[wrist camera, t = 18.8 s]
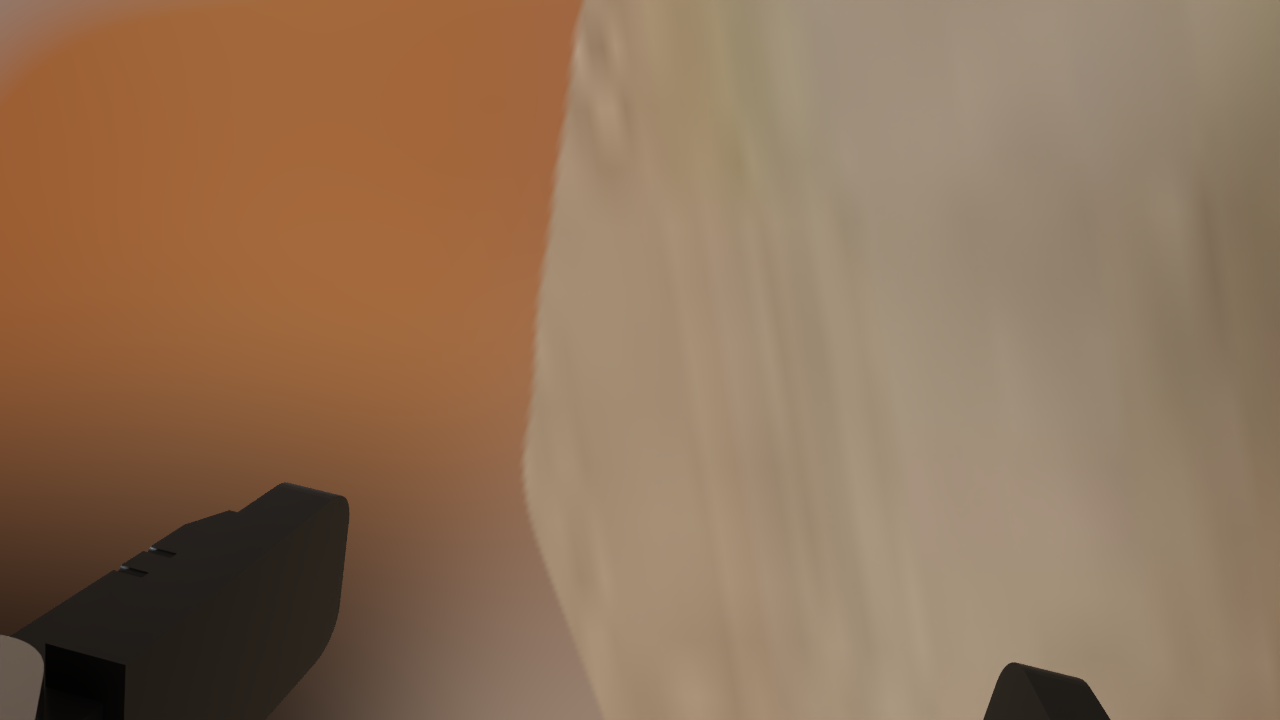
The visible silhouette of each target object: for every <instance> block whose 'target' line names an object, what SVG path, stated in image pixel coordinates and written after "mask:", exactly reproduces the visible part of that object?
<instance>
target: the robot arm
mask: <svg viewBox="0 0 1280 720" xmlns="http://www.w3.org/2000/svg"><path fill="white" fill-rule="evenodd" d="M348 524H349V505H348V502H347V499H346V498H345V497H343V496H341V495H337V494H332V493H328V492H324V491H320V490H316V489H312V488H308V487H304V486H300V485H296V484H292V483H286V482H285V483H281V484H279V485H277V486H276V487H274V488H273V489H271V490H270V491H268V492H267V493H265V494H264V495H263V496H261V497H260V498H258V499H257V500H256V501H254V502H252V503H251V504H249V505H248V506H247V507H245V508H243V509H242V510H240V511H239V512H234V511H230V510H229V511H226V512H223V513H219V514H216V515H213V516H210V517H207V518H204V519H201V520H198V521H195V522H191V523H188V524H185V525H183V526H182V527H180V528H179V529H177V530H176V531H174V532H172V533H171V534H169V535H168V536H166V537H165V538H163V539H161V540H160V541H158V542H157V543H155V544H154V545H152V546H150V550H149V551H148V552H145V551H143V552H141V553H140V554H138V555H136V556H135V557H133V558H132V559H130V560H129V561H127V562H126V563H124V564H122V565H121V567H120V570H119V571H115V570H113V571H111V572H110V573H108V574H107V575H105V576H104V577H102V578H100V579H99V580H97V581H96V582H94V583H92V584H91V585H89V586H88V587H87V588H85V589H83V590H81V591H80V592H78V593H77V594H75V595H74V596H72V597H71V598H69V599H67V600H66V601H64V602H63V603H61V604H60V605H58V606H56V607H55V608H53V609H52V610H50V611H49V612H47V613H45V614H44V615H42V616H41V617H39V618H38V619H36V620H34V621H33V622H32V623H30V624H28V625H27V626H25V627H24V628H22V629H20V630H19V631H17V632H16V633H14V634H13V635H11V636H9V637H8V636H4V635H0V720H266V719H267V718H268V716H269V715H270V714H271V713H272V712H273V711H274V709H275V708H276V707H277V706H278V705H279V704H280V703H281V701H282V700H283V699H284V698H285V697H286V696H287V695H288V693H289V692H290V691H291V690H292V689H293V688H294V687H295V686H296V684H297V683H298V682H299V681H300V680H301V679H302V678H303V676H304V675H305V674H306V673H307V672H308V671H309V669H310V668H311V667H312V666H313V665H314V664H315V662H316V661H317V660H318V659H319V657H320V656H321V655H322V653H323V651H324V650H325V648H326V646H327V644H328V642H329V640H330V638H331V635H332V633H333V630H334V627H335V624H336V621H337V616H338V613H339V606H340V598H341V587H342V579H343V570H344V561H345V552H346V542H347V533H348ZM983 720H1110V718H1109V717H1108V715H1107V714H1106V712H1105V710H1104V709H1103V707H1102V706H1101V704H1100V703H1099V701H1098V699H1097V698H1096V696H1095V695H1094V693H1093V692H1092V690H1091V688H1090V687H1089V686H1088V684H1087V683H1086V682H1085V681H1084V680H1082V679H1080V678H1077V677H1072V676H1068V675H1064V674H1060V673H1056V672H1052V671H1048V670H1044V669H1040V668H1036V667H1032V666H1028V665H1024V664H1019V663H1010V664H1008V665H1007V666H1006V667H1005V668H1004V669H1003V670H1002V672H1001V674H1000V676H999V678H998V680H997V683H996V686H995V689H994V691H993V694H992V697H991V700H990V703H989V705H988V708H987V711H986V714H985V717H984V719H983Z"/></svg>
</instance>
